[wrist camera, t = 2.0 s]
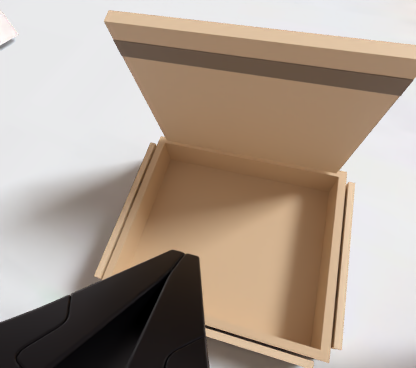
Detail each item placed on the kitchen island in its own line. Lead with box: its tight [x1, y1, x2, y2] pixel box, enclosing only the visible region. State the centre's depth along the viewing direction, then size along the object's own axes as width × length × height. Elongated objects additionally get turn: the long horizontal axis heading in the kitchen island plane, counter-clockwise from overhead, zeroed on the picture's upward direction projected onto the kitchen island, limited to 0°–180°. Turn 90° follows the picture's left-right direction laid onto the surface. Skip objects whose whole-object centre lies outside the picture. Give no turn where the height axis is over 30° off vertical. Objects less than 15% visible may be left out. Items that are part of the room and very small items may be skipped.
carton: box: [94, 136, 355, 368], centre depth 21 cm, size 12×15×3 cm
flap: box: [104, 10, 416, 173], centre depth 17 cm, size 1×12×11 cm, turn 74°
